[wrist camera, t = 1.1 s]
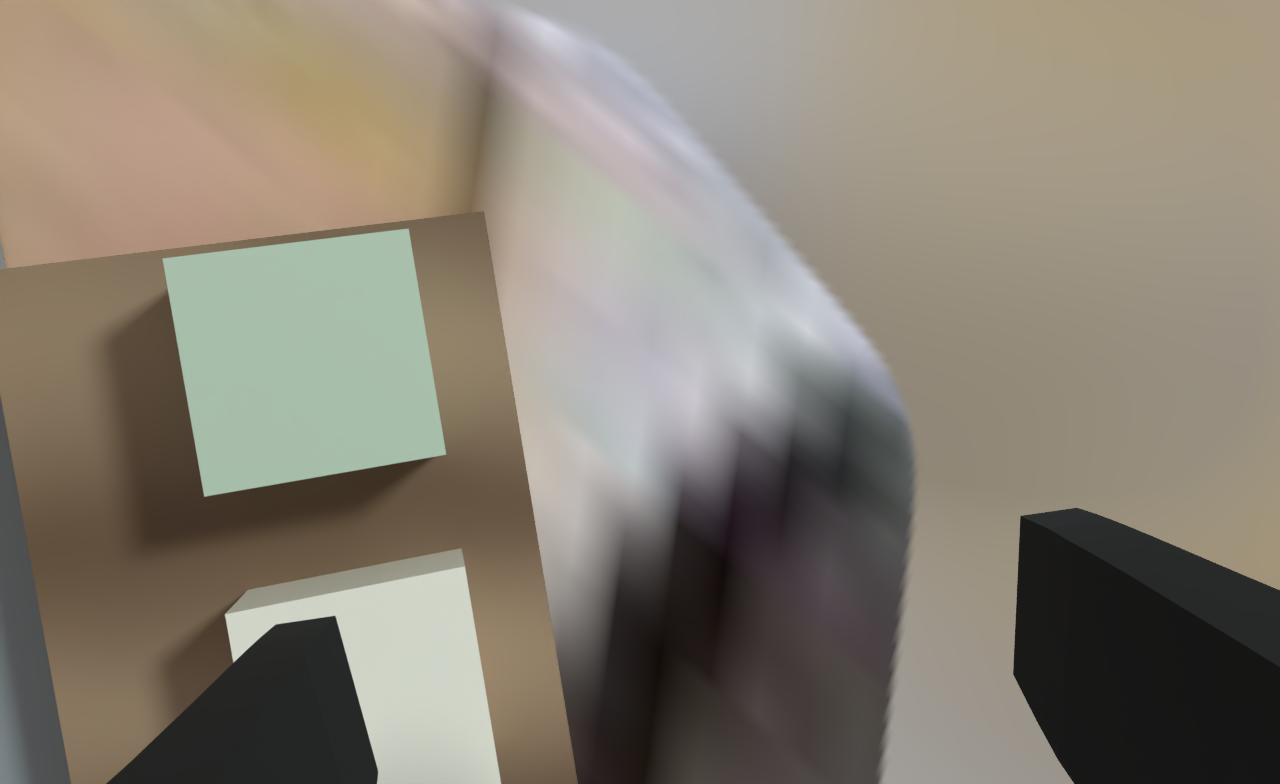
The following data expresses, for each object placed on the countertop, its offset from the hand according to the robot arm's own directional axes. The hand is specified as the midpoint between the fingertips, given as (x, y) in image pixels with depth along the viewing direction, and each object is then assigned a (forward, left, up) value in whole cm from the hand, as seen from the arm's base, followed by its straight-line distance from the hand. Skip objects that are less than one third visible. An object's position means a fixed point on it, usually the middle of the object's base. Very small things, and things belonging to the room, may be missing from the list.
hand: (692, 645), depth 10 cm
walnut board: (0, +5, -11) cm, 12 cm away
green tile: (+4, +4, -9) cm, 11 cm away
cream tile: (-2, +4, -9) cm, 10 cm away
